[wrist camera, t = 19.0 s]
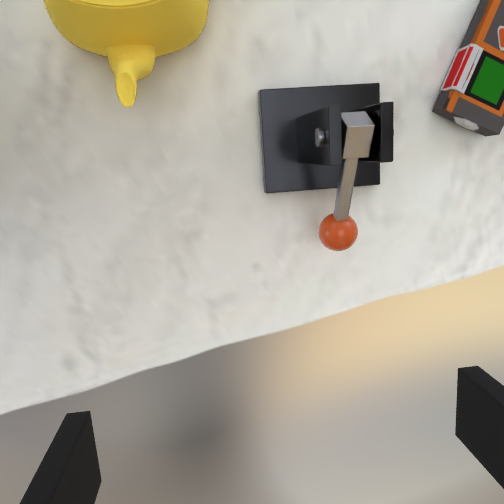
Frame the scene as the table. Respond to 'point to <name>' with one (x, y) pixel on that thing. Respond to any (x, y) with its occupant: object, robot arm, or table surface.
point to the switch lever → (347, 181)
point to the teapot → (129, 32)
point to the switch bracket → (319, 135)
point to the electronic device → (477, 74)
